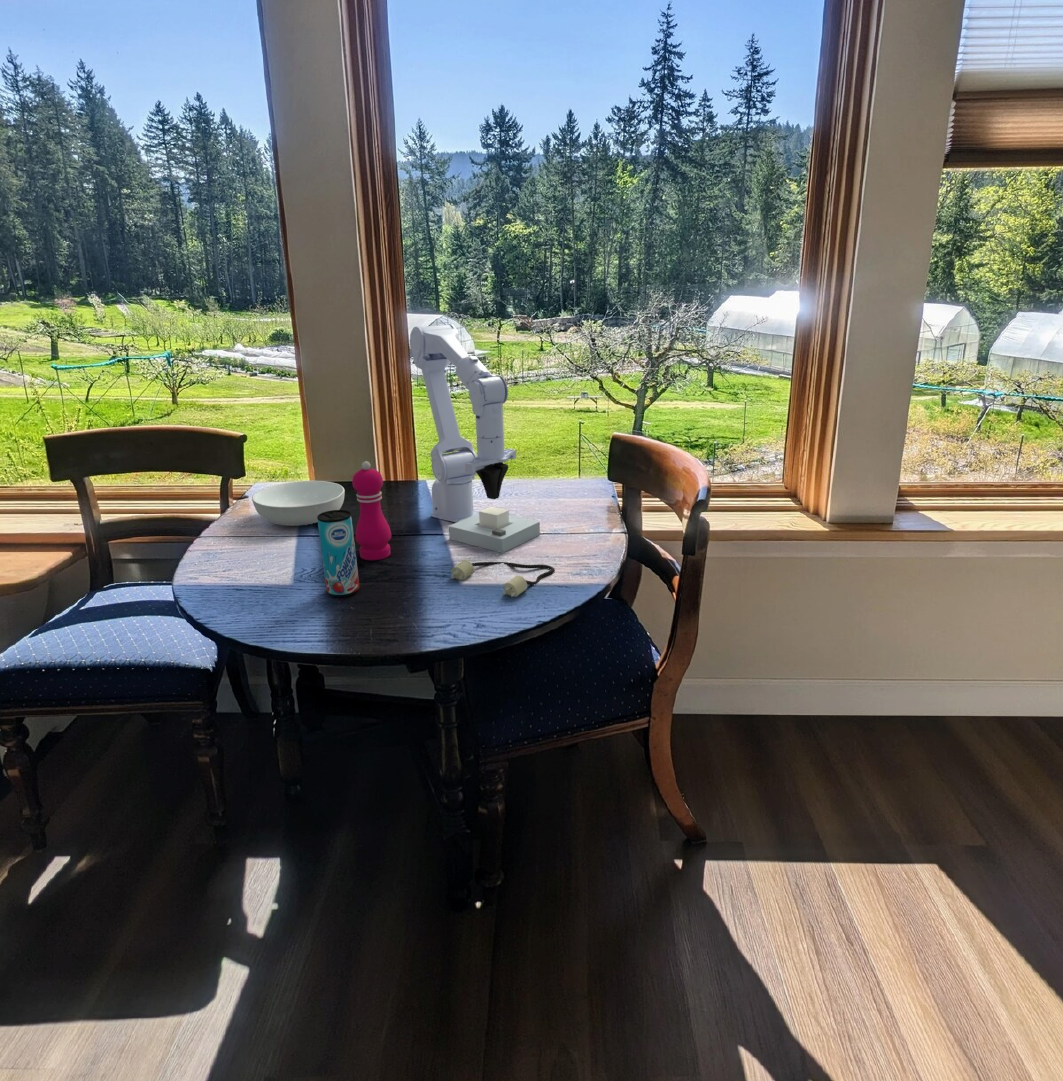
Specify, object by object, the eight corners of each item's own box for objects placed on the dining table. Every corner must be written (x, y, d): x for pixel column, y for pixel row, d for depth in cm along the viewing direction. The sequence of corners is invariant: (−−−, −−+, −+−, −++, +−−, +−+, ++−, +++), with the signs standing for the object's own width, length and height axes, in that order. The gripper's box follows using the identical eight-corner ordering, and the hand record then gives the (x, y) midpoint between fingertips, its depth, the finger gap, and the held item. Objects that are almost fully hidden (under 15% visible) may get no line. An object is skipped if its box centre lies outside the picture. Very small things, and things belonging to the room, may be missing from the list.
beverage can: (330, 600, 136) (319, 522, 130) (324, 588, 141) (314, 512, 135) (362, 594, 138) (354, 517, 133) (356, 583, 143) (347, 508, 138)
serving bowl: (279, 542, 165) (274, 512, 163) (242, 520, 180) (237, 492, 178) (363, 520, 178) (360, 492, 175) (322, 501, 193) (319, 475, 190)
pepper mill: (399, 550, 158) (390, 458, 151) (382, 563, 152) (372, 467, 145) (369, 547, 161) (359, 456, 154) (351, 559, 154) (339, 464, 147)
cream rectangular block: (480, 537, 165) (478, 511, 163) (492, 532, 168) (491, 506, 165) (497, 541, 162) (496, 515, 160) (509, 536, 165) (508, 510, 163)
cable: (497, 556, 155) (497, 540, 154) (563, 574, 146) (563, 557, 145) (446, 581, 144) (445, 565, 142) (514, 602, 134) (513, 584, 133)
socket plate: (449, 538, 164) (448, 522, 163) (487, 522, 174) (486, 506, 173) (502, 552, 156) (502, 535, 154) (539, 534, 165) (539, 518, 164)
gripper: (482, 444, 149) (485, 510, 154) (526, 431, 160) (528, 492, 165) (455, 440, 153) (459, 504, 158) (500, 427, 164) (503, 487, 169)
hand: (493, 497), depth 162 cm, fingers closed
